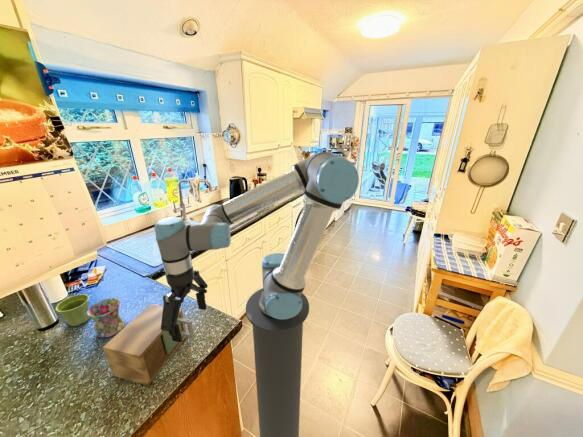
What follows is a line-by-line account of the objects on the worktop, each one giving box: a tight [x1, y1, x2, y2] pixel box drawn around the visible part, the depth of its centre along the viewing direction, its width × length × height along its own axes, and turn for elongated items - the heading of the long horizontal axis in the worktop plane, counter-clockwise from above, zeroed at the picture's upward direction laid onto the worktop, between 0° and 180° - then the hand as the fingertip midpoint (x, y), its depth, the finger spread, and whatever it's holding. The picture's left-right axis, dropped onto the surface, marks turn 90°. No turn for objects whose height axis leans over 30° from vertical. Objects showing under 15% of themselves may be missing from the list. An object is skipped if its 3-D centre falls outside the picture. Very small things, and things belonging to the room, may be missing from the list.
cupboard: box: [102, 303, 187, 386], centre depth 75 cm, size 12×18×12 cm
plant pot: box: [55, 293, 91, 327], centre depth 89 cm, size 9×9×9 cm
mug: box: [87, 297, 126, 339], centre depth 83 cm, size 12×9×11 cm
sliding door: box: [162, 316, 195, 354], centre depth 77 cm, size 6×7×10 cm
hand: (191, 323), depth 77 cm, fingers open, 13 cm apart
